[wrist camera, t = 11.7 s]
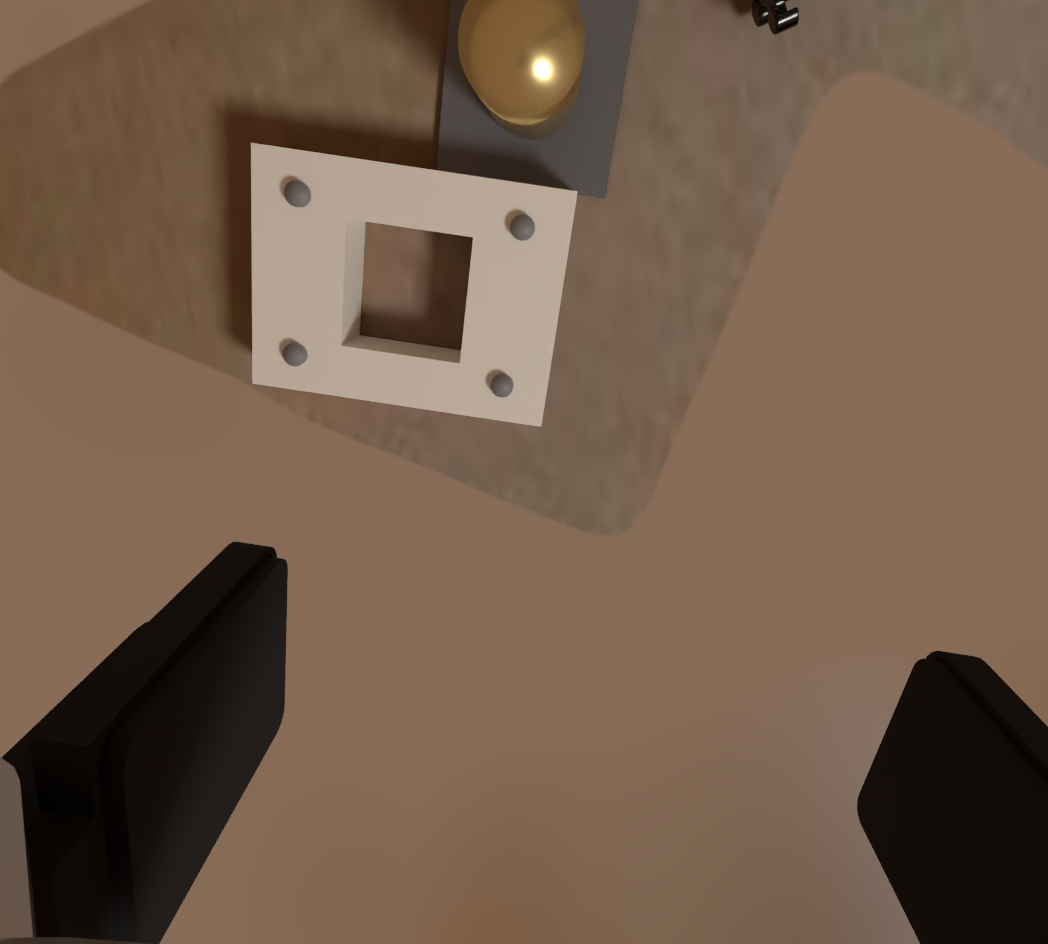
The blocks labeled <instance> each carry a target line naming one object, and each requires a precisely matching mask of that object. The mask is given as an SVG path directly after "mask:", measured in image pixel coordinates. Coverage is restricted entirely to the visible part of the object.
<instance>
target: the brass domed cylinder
mask: <svg viewBox="0 0 1048 944" xmlns="http://www.w3.org/2000/svg"><path fill="white" fill-rule="evenodd" d="M584 46H585V30H584V23H583V18H582V15H581V11H580V9H579V6H578V4H577V2H576V0H468V1H467V3H466V5H465V7H464V10H463V12H462V15H461V19H460V23H459V30H458V51H459V56H460V61H461V65H462V68H463V71H464V73H465V75H466V77H467V79H468V81H469V82H470V84H471V86H472V87H473V89H474V90H475V92H476V93H477V95H478V96H479V97H480V99H481V100H482V102H483V103H484V105H485V106H486V108H487V109H488V111H489V112H490V114H491V115H492V117H493V118H494V119H495V121H496V122H497V123H498V124H499V126H501V127H502V128H503V129H504V130H505V131H506V132H508V133H509V134H511V135H513V136H515V137H518V138H522V139H528V140H535V139H541V138H545V137H547V136H550V135H552V134H553V133H555V132H557V131H558V130H559V129H561V128H562V127H563V126H564V125H565V124H566V122H567V121H568V120H569V118H570V117H571V115H572V114H573V111H574V109H575V107H576V104H577V101H578V97H579V90H580V82H581V73H582V65H583V56H584Z"/></svg>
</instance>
